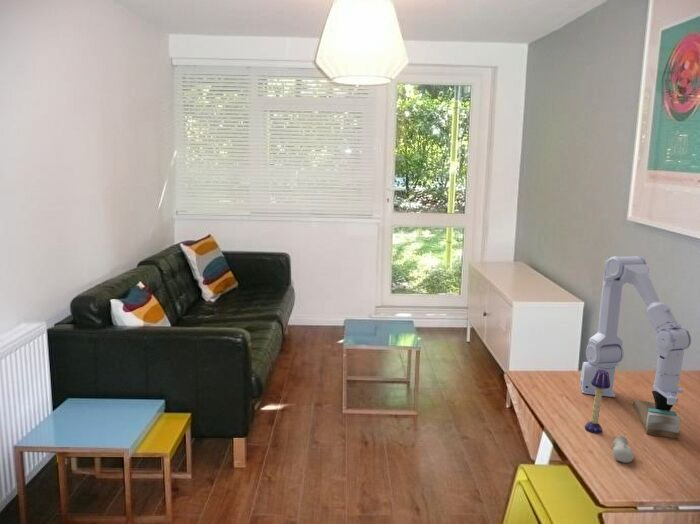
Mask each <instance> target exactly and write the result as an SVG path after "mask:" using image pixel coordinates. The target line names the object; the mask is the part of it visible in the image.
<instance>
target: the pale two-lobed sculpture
mask: <svg viewBox="0 0 700 524" xmlns="http://www.w3.org/2000/svg"><path fill="white" fill-rule="evenodd" d="M612 455H613V457H614V458H615V459H616V461H619V462H620V463H627V464H628V463H630V462H632V461H633V460H634V458H635V454H634V452H633V449H632V448H631V447H630V446H629V441H628V439H627V438H626V437H625V436H623V435H621V436H618V437H616V438H615V439H613V441H612Z"/></svg>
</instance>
